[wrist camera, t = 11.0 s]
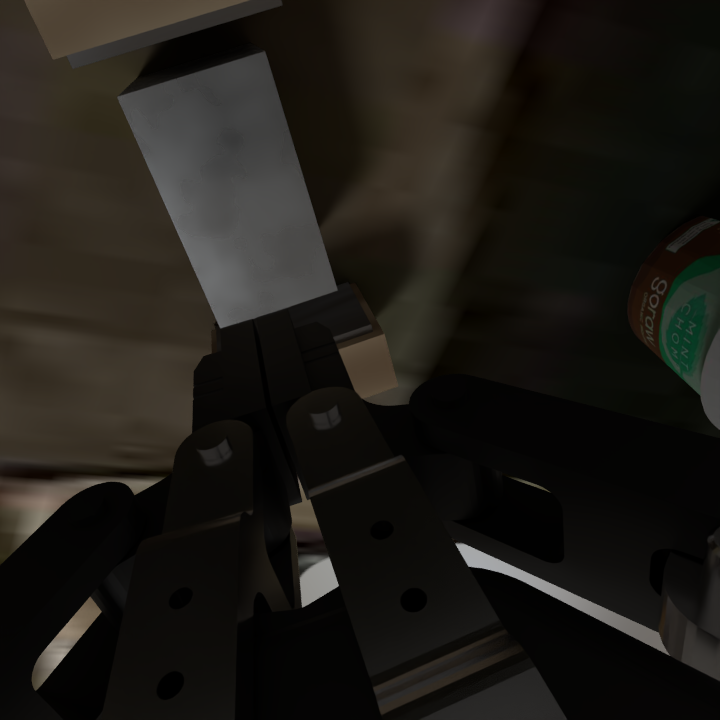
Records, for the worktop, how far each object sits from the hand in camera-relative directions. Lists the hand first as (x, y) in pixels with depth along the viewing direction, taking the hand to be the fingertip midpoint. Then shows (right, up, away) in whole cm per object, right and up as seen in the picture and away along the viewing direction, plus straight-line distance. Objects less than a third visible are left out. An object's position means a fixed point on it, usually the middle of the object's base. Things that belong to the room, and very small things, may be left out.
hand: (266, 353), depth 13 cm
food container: (+21, +4, +24) cm, 32 cm away
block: (-4, +9, +14) cm, 17 cm away
